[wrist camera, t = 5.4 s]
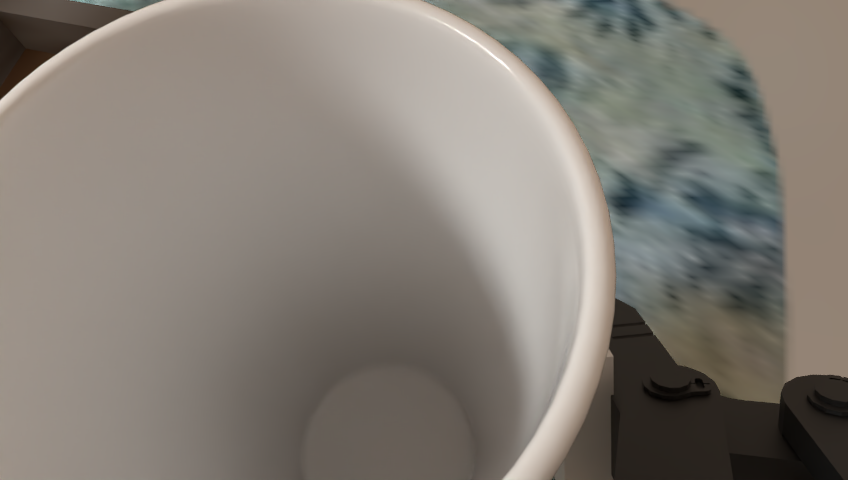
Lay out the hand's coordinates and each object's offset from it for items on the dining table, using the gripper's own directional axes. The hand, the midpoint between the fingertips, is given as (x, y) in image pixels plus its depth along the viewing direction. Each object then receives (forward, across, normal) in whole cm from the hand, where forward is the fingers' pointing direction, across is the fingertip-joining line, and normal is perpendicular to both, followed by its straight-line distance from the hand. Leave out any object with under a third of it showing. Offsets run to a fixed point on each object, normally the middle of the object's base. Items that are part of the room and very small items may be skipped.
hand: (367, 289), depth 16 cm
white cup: (+2, 0, -6) cm, 7 cm away
